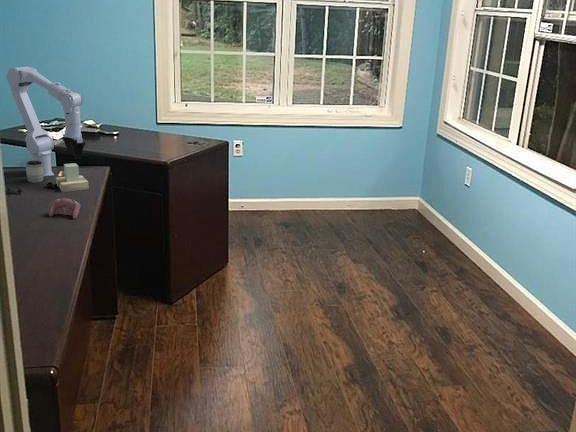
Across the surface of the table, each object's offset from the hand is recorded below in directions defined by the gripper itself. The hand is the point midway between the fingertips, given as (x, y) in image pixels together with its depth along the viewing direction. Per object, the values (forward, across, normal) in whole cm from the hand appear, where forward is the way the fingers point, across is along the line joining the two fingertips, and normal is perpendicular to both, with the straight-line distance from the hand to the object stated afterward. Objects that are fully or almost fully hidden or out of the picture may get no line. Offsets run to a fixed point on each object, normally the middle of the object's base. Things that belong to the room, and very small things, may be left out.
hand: (74, 156), depth 243 cm
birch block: (+10, +7, -4) cm, 13 cm away
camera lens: (+11, -8, -14) cm, 19 cm away
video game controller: (+11, +36, -17) cm, 41 cm away
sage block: (+7, +7, -4) cm, 11 cm away
